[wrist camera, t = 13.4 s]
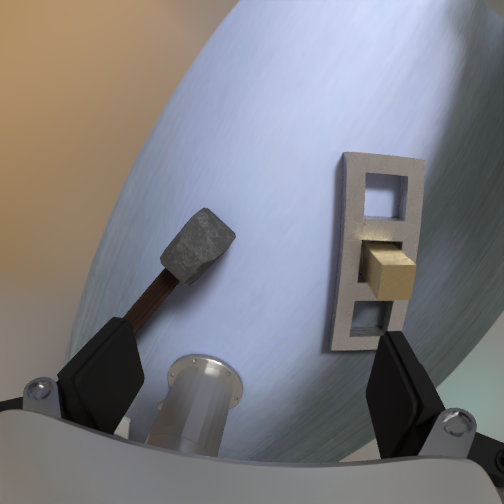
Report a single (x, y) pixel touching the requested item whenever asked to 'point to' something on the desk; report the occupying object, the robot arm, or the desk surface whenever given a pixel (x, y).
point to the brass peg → (387, 271)
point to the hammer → (183, 262)
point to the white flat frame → (372, 228)
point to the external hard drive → (123, 428)
